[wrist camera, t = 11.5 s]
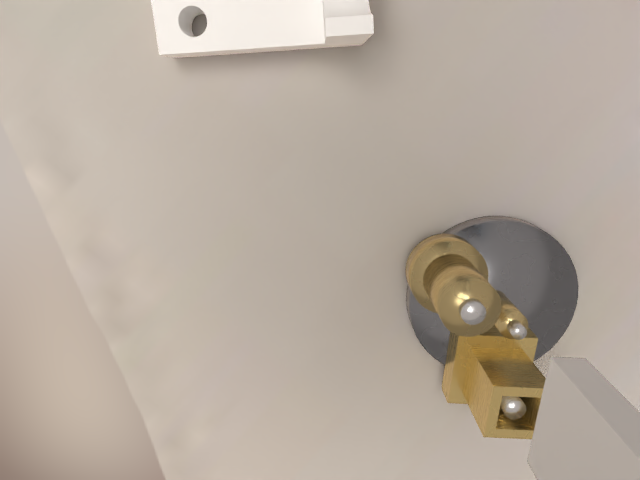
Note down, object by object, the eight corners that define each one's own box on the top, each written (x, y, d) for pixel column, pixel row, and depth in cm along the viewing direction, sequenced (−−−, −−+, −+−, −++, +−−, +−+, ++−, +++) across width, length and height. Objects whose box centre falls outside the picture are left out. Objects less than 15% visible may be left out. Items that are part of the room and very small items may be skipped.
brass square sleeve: (451, 322, 38) (480, 372, 31) (527, 325, 38) (572, 376, 31) (441, 387, 39) (466, 448, 33) (513, 391, 40) (553, 452, 33)
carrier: (408, 210, 36) (436, 248, 28) (584, 220, 37) (667, 260, 28) (390, 360, 40) (411, 435, 32) (550, 368, 41) (613, 443, 32)
